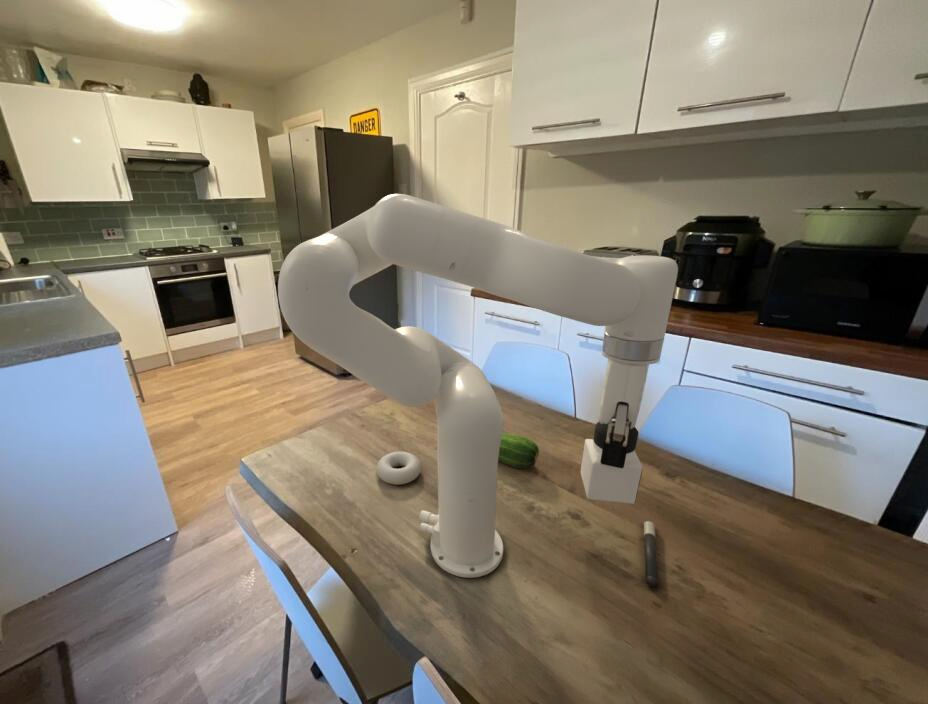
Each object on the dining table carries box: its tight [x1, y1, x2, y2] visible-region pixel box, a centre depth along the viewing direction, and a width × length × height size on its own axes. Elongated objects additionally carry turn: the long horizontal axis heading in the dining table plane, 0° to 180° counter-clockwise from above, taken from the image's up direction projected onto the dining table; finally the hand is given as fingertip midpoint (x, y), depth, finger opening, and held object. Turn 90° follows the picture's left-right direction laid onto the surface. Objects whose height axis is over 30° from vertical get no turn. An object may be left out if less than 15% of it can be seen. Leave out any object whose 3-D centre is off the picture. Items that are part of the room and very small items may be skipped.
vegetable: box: [498, 432, 540, 470], centre depth 95 cm, size 7×7×20 cm
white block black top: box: [579, 419, 644, 505], centre depth 65 cm, size 7×7×12 cm
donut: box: [376, 450, 422, 486], centre depth 91 cm, size 10×4×10 cm
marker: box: [643, 520, 659, 587], centre depth 68 cm, size 14×2×2 cm
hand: (613, 450), depth 64 cm, fingers closed on white block black top, 7 cm apart
